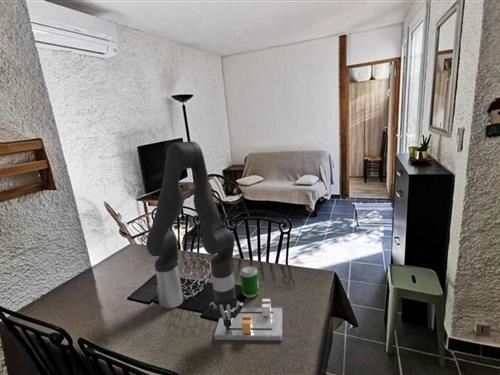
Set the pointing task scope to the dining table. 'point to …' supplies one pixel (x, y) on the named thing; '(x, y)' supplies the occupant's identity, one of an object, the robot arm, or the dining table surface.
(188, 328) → the dining table surface
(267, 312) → the fader cap cream
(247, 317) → the fader cap orange
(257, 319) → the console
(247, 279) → the soda can
